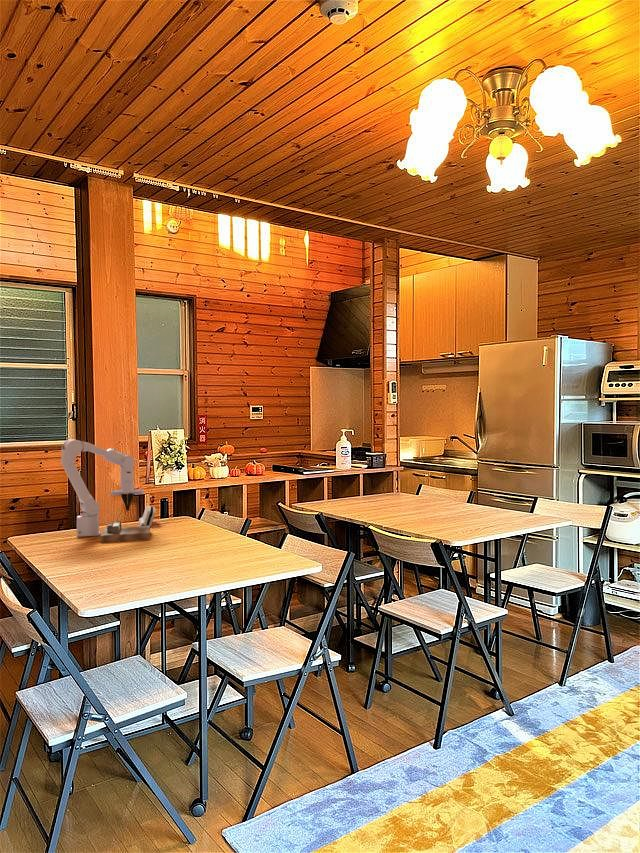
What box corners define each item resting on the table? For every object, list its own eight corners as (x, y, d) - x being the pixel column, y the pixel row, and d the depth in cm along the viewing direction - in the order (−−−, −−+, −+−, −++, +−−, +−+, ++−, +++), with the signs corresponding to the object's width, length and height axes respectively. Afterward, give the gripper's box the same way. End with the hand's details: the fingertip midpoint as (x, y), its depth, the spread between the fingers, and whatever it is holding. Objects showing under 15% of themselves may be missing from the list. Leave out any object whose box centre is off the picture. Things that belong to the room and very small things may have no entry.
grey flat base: (100, 542, 279) (100, 528, 279) (104, 534, 297) (103, 521, 297) (149, 539, 284) (149, 526, 284) (150, 532, 301) (149, 519, 301)
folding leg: (114, 527, 296) (113, 521, 296) (121, 527, 297) (121, 520, 297) (111, 533, 283) (111, 526, 283) (119, 533, 284) (119, 526, 283)
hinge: (138, 521, 330) (144, 502, 331) (147, 524, 331) (154, 505, 332) (140, 527, 314) (147, 507, 315) (149, 530, 316) (156, 510, 316)
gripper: (110, 482, 301) (110, 512, 301) (142, 481, 304) (143, 510, 304) (111, 480, 307) (111, 509, 308) (143, 479, 311) (144, 508, 311)
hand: (127, 510), depth 307 cm, fingers closed
